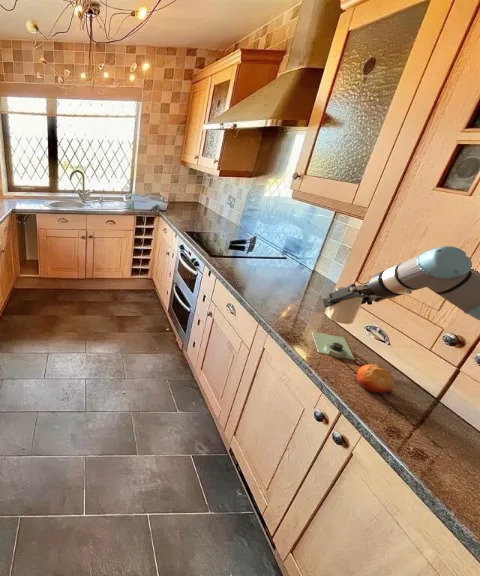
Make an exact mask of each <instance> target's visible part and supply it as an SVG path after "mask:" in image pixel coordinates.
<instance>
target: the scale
mask: <svg viewBox="0 0 480 576" xmlns="http://www.w3.org/2000/svg"><path fill="white" fill-rule="evenodd" d="M311 335H312V337H313V341H314V344H315V347H316V350H317V353H319V354H324V355H328V356H332V357H334V358H337V359H342V358H343V359H348V360H352V361H355V360H356V359H355V356H354V355H353V353H352V351H351V349H350V347H349V344H348V342H347V340H346V338H345V337H343V336H339V335H338V336H337V335H332V334H327V333H321V332H316V331H311ZM333 343H339V344H341V345H343V349H342V351H341V352H338V351H334V350H333V349H331V347H332V344H333Z"/></svg>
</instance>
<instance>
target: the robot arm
mask: <svg viewBox="0 0 480 576" xmlns="http://www.w3.org/2000/svg"><path fill="white" fill-rule="evenodd" d="M470 257H471V256H468V255H467V253H466V251H464V250H463V249H461V248H459V247H456V246H452V245H443V246H439V247H436V248H433V249H431V250H428V251H425V252H422V253H420V254H419V255H416V256H414V257H412V258H411V259H407V260H406V261H404V262H400V263H398V264H396V265H393V266H391V267H389V268H387V269H385V270H383V271H380V272H377V273H375V274H374V275H372V277H371V278H370V280H369V281H368V282H365V283H363V284H360V285H356V283H351V284H350V285H348V286H344V287H345V288H342V289H340V290H337V289H336V290H337V291H336V290H335V291H331V292H329V293H328V297H325V298H323V299H322V303H323V308H330V306H332V305H334V304H337V303H340V301H343V300H347V299H351V298H355V297H360V298H362V297H364V299H363V301H362V303H361V305H365V304H367V305H369V306H371V305H373V302H374V303H379V302H382V301H384V300H386V299H393V298H397V297H400V296H403V295H406V294H407V295H411V294H413V292H414V291H417V290H421V289H425V288H427V289H429V290H430V291H432V292H433V293H435V294H437V295H438V296H440V297H441V298H443V299H445V301H447V302H448V303H450V304H452V305H453V306H455V307H456V308H458V309H459V310H460V311H462V312H463V313H464V314H467V315H469V316H470V317H472V318H474V319H476V320H477V321H480V273H479V272H478V271H476V270H475V271H474V269H471V267H472V262H471V259H470ZM362 294H363V295H362Z"/></svg>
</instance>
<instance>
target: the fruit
mask: <svg viewBox="0 0 480 576" xmlns="http://www.w3.org/2000/svg"><path fill="white" fill-rule="evenodd" d="M354 380H356V381H357V382H358V384H359V385H360V387H362V388H363V389H364V390H365V391H366V392H369V393H377V394H378V393H380V394H382V393H389V392H390V391H392V388H393V387H394V383H395V378H394V377H393V376H392V374H391V372H390V371H389V370H388V369H386V368H384V367H383V366H381V365H379V364H375V363H374V364H372V363H371V364H364V365H362V366H360V367H359V368H358V370H357V373H356V378H354Z"/></svg>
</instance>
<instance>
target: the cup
mask: <svg viewBox="0 0 480 576" xmlns="http://www.w3.org/2000/svg"><path fill="white" fill-rule="evenodd" d="M345 287H346V286H339V287H337V288H336V290H335V291H337V290H340V289H342V288H345ZM362 295H363V294H362ZM363 299H364V297H362V298H360V297H355V298H351V299H347V300H343V301H340V303H337V304H334V305H332V306H329V307H328V310H327V313H326V316H327V318H328V319H330V320H331V321H333V322H335V323H339V324H343V325H350V324H353V323H354V321H355V319H356V317H357V314H358V312H359V310H360V308H361V303H362V301H363Z"/></svg>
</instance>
